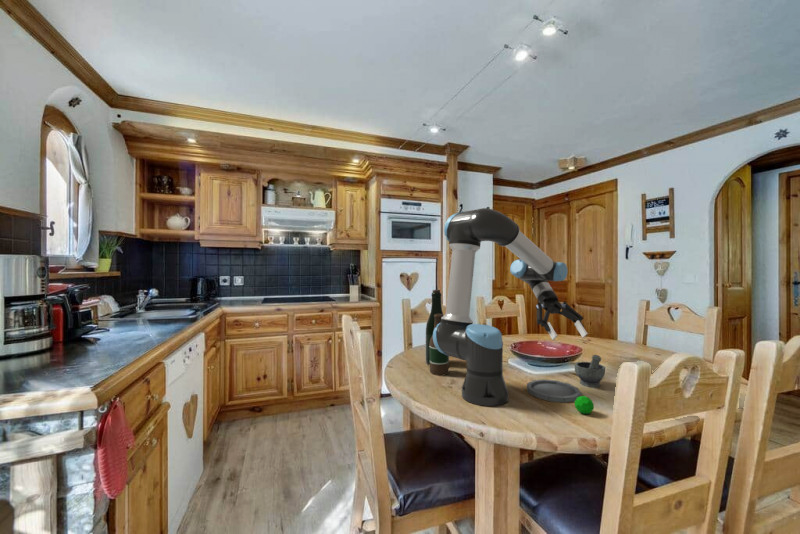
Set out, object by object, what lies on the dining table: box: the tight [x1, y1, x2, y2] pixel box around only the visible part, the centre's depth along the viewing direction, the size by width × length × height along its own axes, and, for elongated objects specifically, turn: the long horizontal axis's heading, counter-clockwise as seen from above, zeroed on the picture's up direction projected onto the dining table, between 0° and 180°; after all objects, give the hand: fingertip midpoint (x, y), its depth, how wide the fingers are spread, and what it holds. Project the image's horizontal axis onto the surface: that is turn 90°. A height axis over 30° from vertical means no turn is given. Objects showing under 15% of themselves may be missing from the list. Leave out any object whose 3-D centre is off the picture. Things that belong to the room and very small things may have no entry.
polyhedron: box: [574, 395, 595, 415], centre depth 99 cm, size 5×5×5 cm
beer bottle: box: [429, 314, 450, 376], centre depth 137 cm, size 8×8×24 cm
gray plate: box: [526, 379, 582, 403], centre depth 115 cm, size 16×16×2 cm
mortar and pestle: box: [574, 354, 606, 389], centre depth 121 cm, size 11×9×12 cm
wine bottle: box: [424, 289, 445, 366], centre depth 150 cm, size 10×10×33 cm
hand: (570, 337), depth 131 cm, fingers open, 13 cm apart
